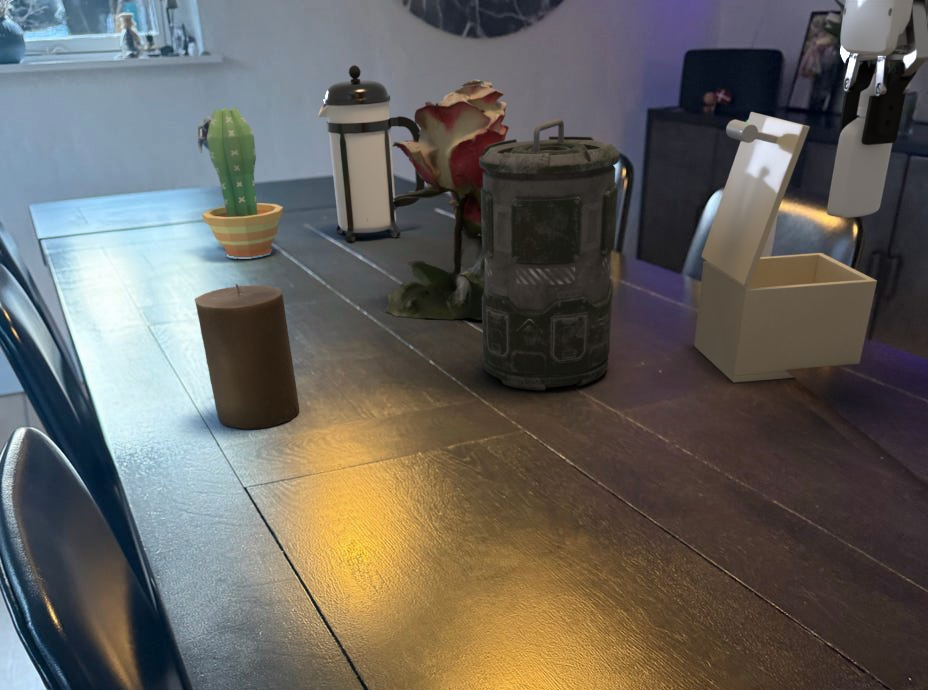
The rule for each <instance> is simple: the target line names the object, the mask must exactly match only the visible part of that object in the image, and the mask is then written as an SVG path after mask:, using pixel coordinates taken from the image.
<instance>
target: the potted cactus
mask: <svg viewBox="0 0 928 690" xmlns="http://www.w3.org/2000/svg"><path fill="white" fill-rule="evenodd" d="M195 137H196V138H195V139H196V142H197V144H198V145H197V146H198V149H199V153H200V154H202V153H203V147H204V149H206V150H207V151H209V152H208V153H209V156H210V160H211V163H212V165H213V167H214V169H215V171H216V174H217V176H218V179H219V185H220V189H221V192H222V197H223V200H224V205H222V206H219V207H214V208H210V209H207V210H205V211H204V212H203V213H202V214H201V217H202V219H203V221H204V223H205V224H207V225H208V226H209V228H210V230H211V232H212V234H213V237H214V238H215V240H216V241H217V242H218V243H219V244H220V246H222V247H223V249H224V250H225V251H226V252H225V253H226V254H228V255H229V256H234V257H253V256H258V255H264V254H267V253H270V252H271V251H272V252H273V249H272V244H273V243H274V240H275V238H276V236H277V234H278V229H279V222H280V219H281V218H282V217H283V214H284V212H283V211H284V207H283V206H281V205H279V204H277V203H263V202H257V194H256V192H257V191H256V183H255V168H256V167H255V166H256V160H257V155H256V144H255V135H254V131H253V130H252V129H251V127H250V125H249V123H248V122H247V120H246V119H245V118H244V117H243V115H242V114H241V112H240V111H239V110H238V108H237V107H233V108H232V109H228V108H226V107H223V108H222V109H220V110H219V109H217V108H215V109H214V110H213V112H212V115H211V116H210V115H207V116H205V117H204V118H202V120H201V121H200V122H199V124H198V126H197V130H196V136H195ZM226 254H225V255H226Z"/></svg>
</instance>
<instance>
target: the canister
mask: <svg viewBox="0 0 928 690" xmlns="http://www.w3.org/2000/svg"><path fill="white" fill-rule="evenodd" d="M564 124H565V123H564V120H563V119H562V118H556V119H553V120H548V121H546V122H542V123H540V124H537V125H536V126H535V127H534V131H533V140H525V141H524V140H523V141H517V139H516V138H513V139H507V140H505V141H502V142H497V143H494V144H491V145H488V146H487V147H486V148H485V149H484V151H483V154H482V156H481V157H480V158H479V164H480V167H481V168H482V169H484V170H485V171H484V172H483V187H482V188H481V224H482V251H483V253H484V257H485V289H484V293H483V296H482V320H481V321H482V322H481V325H482V327H481V328H482V355H483V367H484V369H485V371H486V372H487V373H488V374H490V375H491V376H493V377H495V378H497V379H498V380H500V381H501V383H502V385H504V386H506V387H510V388H515V389H520V390H527V391H544V392H545V391H546V389H548V388H558V387H568V386H573V385H576V387H581V386H585V385H587V384H589V383H591V382H594V381H596V380H598V379H600V377H602V376H603V375H604V373H605V372H606V370H607V369H608V366H609V356H610V346H611V345H610V344H611V330H612V329H611V325H612V311H613V310H612V309H613V293H614V291H613V289H614V282H613V280H612V279H611V265H612V264H611V263H612V252H613V251H614V249H615V246H616V245H615V243H616V225H617V224H616V223H617V206H618V192H619V191H618V190H619V189H618V188H619V186H618V183H617V182H616V171H617V169H616V167H615V165H617V164H618V163H619V162H620V155H621V154H620V152H619V150H618V149H617V147H616V146H615V145H614V144H612V143H610V144H609V143H607V142H604V141H599V140H595V139H594V138H593V137H591V136H575V135H574V136H571V135H568V136H565V125H564ZM555 127H557V129H558V130H557V136H556V135H555V136H548V139H540V133H541V132H542V131H544V130H548V129H551V128H555Z"/></svg>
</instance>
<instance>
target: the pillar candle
mask: <svg viewBox="0 0 928 690" xmlns="http://www.w3.org/2000/svg"><path fill="white" fill-rule="evenodd" d="M194 303H195V306H196V307H195V308H196V313H197V318H198V323H199V327H200V334H201V339H202V342H203V343H202V344H203V348H204V354H205V359H206V360H205V361H206V365H207V369H208V376H209V380H210V381H209V382H210V385H211V389H212V390H211V391H212V395H213V400H214V406H215V411H216V416H217V418H218V421H219V422H220V424H222V425H224V426H226V427H230V428H238V429H245V430H253V429H254V430H256V429H265V428H268V427H269V428H270V427H273V426H277V425H280V424H283V423H287V422H289V421H291V420H293V419H294V418H295V417H296V416H297V415H298V414H299V413H300V404H299V397H298V388H297V384H296V383H297V382H296V376H295V369H294V362H293V356H292V355H293V354H292V349H291V343H290V336H289V329H288V322H287V316H286V309H285V302H284V295H283V291H282V290H281V289H280V288H278V287H277V286H271V285H263V284H249V285H239V284H238V283H235V286H230V287H225V288H224V287H223V288H219V289H214V290H211V291H209V292H205V293H203V294H201V295H199V296H197V297H195V298H194Z"/></svg>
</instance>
